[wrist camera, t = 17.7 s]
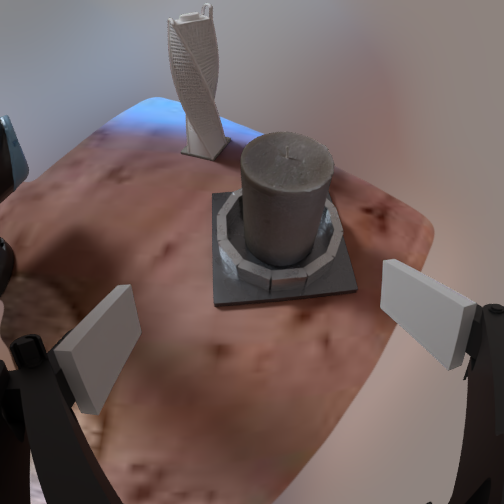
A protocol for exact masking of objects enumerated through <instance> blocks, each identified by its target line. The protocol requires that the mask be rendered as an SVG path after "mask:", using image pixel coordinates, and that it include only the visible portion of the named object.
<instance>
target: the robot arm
mask: <svg viewBox="0 0 504 504" xmlns="http://www.w3.org/2000/svg"><path fill="white" fill-rule="evenodd" d="M28 174H29V167H28V164H27V161H26V159H25V156H24V154H23V151H22V149H21V146H20V144H19V142H18V139H17V137H16V134H15V131H14V128H13V126H12V124H11V121H10V119H9V117H8V116H7V115H5V116H3V117H0V203H1V202H2V201H4V200H5V199H6V198H7V197H8V196H9V195H10V194H11V193H13V192H14V191H15V190H16V188H17V187H18V186H19V185H20V184H21V183H22V182H23V181H24V180H25V179H26V178H27V176H28ZM12 268H13V251H12V248H11V247H10V245H9V244H8V243H7V242H6V241H5V240H4V239H3V238H1V237H0V296H1V295H2V293H3V291H4V290H5V288H6V286H7V284H8V281H9V279H10V276H11V272H12ZM380 308H381V309H382V310H383V311H384V312H385V313H387V314H388V315H389V316H390V317H391V318H392V319H393V320H394V321H395V322H397V323H398V324H399V325H400V326H401V327H402V328H403V329H404V330H406V331H407V332H408V333H409V334H410V335H411V336H412V337H413V338H414V339H415V340H416V341H417V342H418V343H420V344H421V345H422V346H423V347H424V348H425V349H426V350H427V351H428V352H429V353H430V354H431V355H432V356H433V357H435V358H436V359H437V360H438V361H439V362H440V363H441V364H442V365H443V366H444V367H445V368H446V369H447V370H451V369H454V368H456V367H459V366H461V365H462V362H463V359H464V355H465V352H466V353H467V354H469V355H470V356H471V357H470V360H469V364H468V367H467V370H466V373H465V376H464V379H463V380H466V377H468V393H467V408H466V419H465V429H464V437H463V444H462V450H461V456H460V462H459V467H458V472H457V477H456V481H455V486H454V490H453V494H452V497H451V499H450V501H449V503H448V504H504V306H501V305H499V304H488V305H485V306H484V307H481V306H480V305H478V304H477V303H476V302H474V301H472V300H470V299H469V298H467V297H465V296H463V295H462V294H460V293H458V292H456V291H455V290H453V289H451V288H449V287H447V286H445V285H444V284H442V283H440V282H438V281H436V280H434V279H432V278H430V277H429V276H427V275H425V274H423V273H421V272H419V271H417V270H415V269H413V268H412V267H410V266H408V265H406V264H404V263H402V262H400V261H398V260H396V259H391V260H383V273H382V290H381V303H380ZM141 333H142V331H141V327H140V323H139V319H138V315H137V310H136V306H135V301H134V296H133V292H132V287H131V284H129V285H118V286H117V287H115V288H114V289H113V290H112V291H111V292H110V293H109V294H108V295H107V296H106V297H105V298H104V299H103V300H102V301H101V302H100V303H99V304H98V305H97V306H96V307H95V308H94V309H93V310H92V311H91V312H90V313H89V314H88V315H87V316H86V317H85V318H84V319H83V320H82V321H81V322H80V323H79V324H78V325H77V326H76V327H75V328H74V329H72V330H70V331H69V332H67V333H66V334H65V335H64V336H63V337H62V339H60V340H59V341H58V342H57V344H55V346H54V347H53V348H52V349H51V350H50V351H49V352H48V353H46V350H45V347H44V345H43V342H42V339H41V337H40V336H39V335H36V334H30V335H25V336H22V337H20V338H18V339H16V340H15V341H13V342H12V343H11V345H10V350H11V352H12V355H13V357H14V359H15V362H16V364H17V366H18V370H13V371H8V370H7V368H6V365H5V363H4V362H3V360H0V504H31V503H30V449H31V453H32V457H33V461H34V465H35V469H36V472H37V475H38V479H39V482H40V485H41V488H42V491H43V494H44V497H45V500H46V502H47V504H123V503H122V501H121V500H120V498H119V497H118V495H117V493H116V492H115V490H114V489H113V487H112V485H111V484H110V482H109V480H108V479H107V477H106V475H105V474H104V472H103V470H102V468H101V467H100V465H99V463H98V461H97V459H96V458H95V456H94V454H93V452H92V450H91V448H90V446H89V444H88V442H87V440H86V438H85V436H84V434H83V431H82V429H81V427H80V425H79V423H78V420H77V418H76V416H75V414H74V412H73V410H72V408H71V407H72V406H73V404H74V402H75V401H76V403H77V405H78V407H79V409H80V411H81V413H85V414H93V415H99V413H100V411H101V409H102V407H103V405H104V403H105V401H106V399H107V397H108V395H109V393H110V391H111V389H112V387H113V385H114V383H115V381H116V380H117V378H118V376H119V374H120V372H121V370H122V368H123V366H124V364H125V362H126V361H127V359H128V357H129V355H130V353H131V351H132V350H133V348H134V346H135V344H136V342H137V340H138V339H139V337H140V335H141ZM427 504H432V503H431V502H429V503H427Z"/></svg>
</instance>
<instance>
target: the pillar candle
mask: <svg viewBox="0 0 504 504" xmlns="http://www.w3.org/2000/svg"><path fill="white" fill-rule="evenodd" d="M240 163H241V181H242V199H243V201H242V202H243V220H244V238H245V243H246V246H247V248H248V249H249V251H250V252H251V253H252V254H253V255H254V256H255V257H256V258H257V259H259V260H260V261H262V262H264V263H267V264H270V265H275V266H286V265H292V264H295V263H297V262H299V261H301V260H303V259H304V258H305V257H306V256H307V255H308V254H309V253H310V251H311V250H312V248H313V245H314V242H315V238H316V235H317V231H318V228H319V225H320V221H321V217H322V213H323V210H324V206H325V202H326V198H327V194H328V190H329V186H330V183H331V179H332V175H333V173H334V165H335V164H334V162H333V159H332V156H331V154H330V153H329V151H328V149H327V147H325V146H324V145H323V144H320V143H318V142H317V141H315V140H314V139H312V138H309V137H307V136H304V135H301V134H297V133H292V132H275V133H269V134H265V135H262V136H259V137H257V138H255V139H254V140H252V141H251V142H249V143H248V144H247V145H246V147H245V148H244V149H243V152H242V155H241V160H240Z"/></svg>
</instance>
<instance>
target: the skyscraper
mask: <svg viewBox="0 0 504 504" xmlns="http://www.w3.org/2000/svg"><path fill="white" fill-rule="evenodd" d="M206 6H209V17H206V16H204V12H205V7H206ZM212 15H213V7H212V5H210V4H209V3H205V4H204V5H203V7H202V12H201V15H199V13H198V12H194V13H187V14H183V15H180V16H179V18H180V19H177V20H173V19H171V18H169V19H168V51H169V61H170V68H171V73H172V78H173V81H174V85H175V88H176V92H177V94H178V97H179V100H180V102H181V104H182V107H183V109H184V111H185V113H186V134H187V146H186V147H185V148H184V149H183V150H182V151H181V154H185V155H189V156H194V157H198V158H202V159H207V160H211V161H214V160H215V159H216V157H217V156H218V155H219V154H220V153H221V151H222V150H223V149H224V148H225V146H226V145H227V144H228V143H229V142H230V140H231V138H229V137H225V135H224V131H223V127H222V124H221V120H220V117H219V113H218V110H217V107H216V104H215V102H214V99H215V94H216V89H217V82H218V73H219V56H218V47H217V39H216V34H215V28H214V24H213V16H212Z"/></svg>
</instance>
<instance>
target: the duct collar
mask: <svg viewBox="0 0 504 504" xmlns="http://www.w3.org/2000/svg"><path fill="white" fill-rule="evenodd" d="M242 201H243V199H242V188H241V189H239V190H237V191H235V192H224V193H213V194H212V253H213V298H214V306H215V307H217V306H231V305H243V304H255V303H266V302H277V301H287V300H297V299H306V298H315V297H324V296H332V295H340V294H348V293H356V291H357V290H358V287H357V284H356V280H355V276H354V272H353V269H352V265H351V262H350V258H349V255H348V251H347V248H346V244H345V241H344V238H343V228H342V225H341V222H340V219H339V215H338V212H337V209H336V207H335V205H333V203H332V200H331V197H330V194H329V191H328V194H327V198H326V202H325V206H324V210H323V213H322V217H321V221H320V225H319V228H318V231H317V235H316V238H315V242H314V245H313V248H312V250H311V251H310V253H309V254H308V255H307V256H306V257H305V258H304V259H303V260H301V261H299V262H297V263H295V264H292V265H286V266H275V265H270V264H267V263H264V262H262V261H260V260H259V259H257V258H256V257H255V256H254V255H253V254H252V253H251V252H250V251H249V249H248V248H247V246H246V243H245V238H244V220H243V202H242Z"/></svg>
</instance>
